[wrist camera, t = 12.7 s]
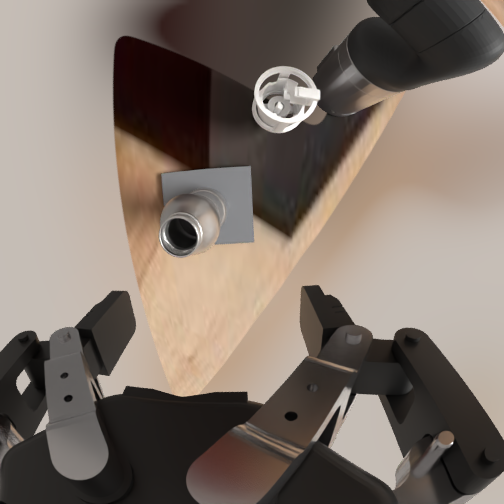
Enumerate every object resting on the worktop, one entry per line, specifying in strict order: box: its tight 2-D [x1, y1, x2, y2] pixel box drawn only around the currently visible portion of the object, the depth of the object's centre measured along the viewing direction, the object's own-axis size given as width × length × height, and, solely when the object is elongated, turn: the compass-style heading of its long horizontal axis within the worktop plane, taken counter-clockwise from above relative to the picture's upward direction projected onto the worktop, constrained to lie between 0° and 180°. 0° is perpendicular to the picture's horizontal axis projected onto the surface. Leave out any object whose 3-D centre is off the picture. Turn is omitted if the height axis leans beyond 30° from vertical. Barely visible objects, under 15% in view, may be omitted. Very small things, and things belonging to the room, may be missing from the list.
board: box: [161, 166, 254, 244], centre depth 42 cm, size 12×14×1 cm
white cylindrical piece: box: [252, 66, 320, 133], centre depth 32 cm, size 7×7×15 cm
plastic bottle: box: [159, 187, 228, 258], centre depth 32 cm, size 6×7×20 cm
